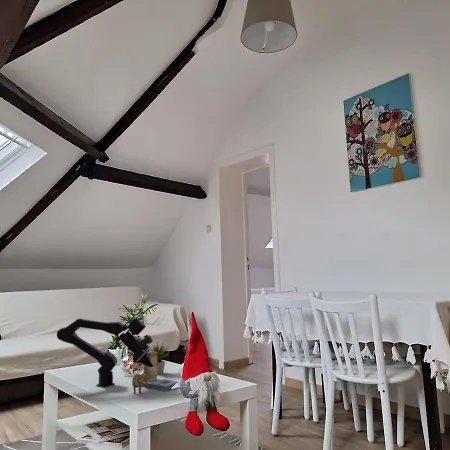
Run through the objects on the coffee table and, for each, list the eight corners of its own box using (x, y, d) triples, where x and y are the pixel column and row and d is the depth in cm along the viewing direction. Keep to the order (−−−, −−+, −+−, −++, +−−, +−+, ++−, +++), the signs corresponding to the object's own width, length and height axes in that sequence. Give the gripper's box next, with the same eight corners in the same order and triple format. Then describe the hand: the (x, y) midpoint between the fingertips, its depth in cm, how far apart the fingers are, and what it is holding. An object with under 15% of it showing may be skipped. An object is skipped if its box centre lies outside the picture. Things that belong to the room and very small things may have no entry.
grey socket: (152, 384, 187) (152, 382, 187) (164, 380, 194) (164, 378, 194) (165, 386, 182) (165, 384, 183) (177, 382, 189) (177, 380, 189)
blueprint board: (137, 386, 192) (137, 381, 192) (149, 382, 199) (149, 377, 199) (166, 391, 181) (166, 386, 182) (179, 387, 188) (179, 382, 189)
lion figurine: (141, 396, 174) (142, 374, 176) (129, 396, 175) (130, 374, 176) (149, 387, 189) (150, 367, 190) (138, 387, 189) (139, 367, 190)
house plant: (170, 376, 210) (170, 344, 213) (143, 377, 210) (144, 344, 212) (173, 370, 224) (173, 340, 227) (148, 371, 224) (149, 341, 227)
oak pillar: (143, 380, 195) (144, 352, 197) (150, 378, 198) (150, 351, 200) (150, 381, 192) (150, 353, 194) (156, 379, 196) (157, 351, 198)
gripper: (139, 332, 189) (163, 356, 188) (145, 328, 208) (167, 349, 207) (122, 350, 188) (146, 374, 187) (129, 344, 206) (151, 365, 205)
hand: (153, 365), depth 196 cm, fingers closed on oak pillar, 6 cm apart
